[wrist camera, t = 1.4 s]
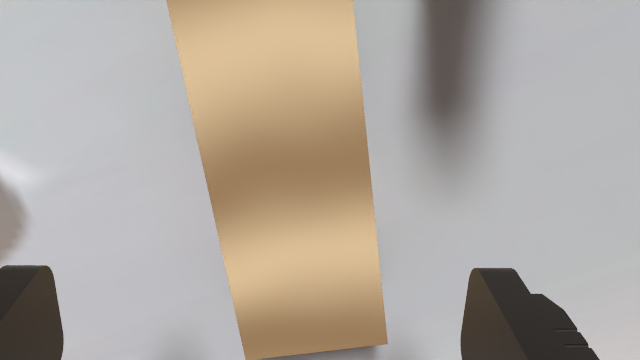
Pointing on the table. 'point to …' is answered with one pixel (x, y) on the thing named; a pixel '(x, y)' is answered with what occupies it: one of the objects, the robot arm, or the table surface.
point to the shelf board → (286, 168)
